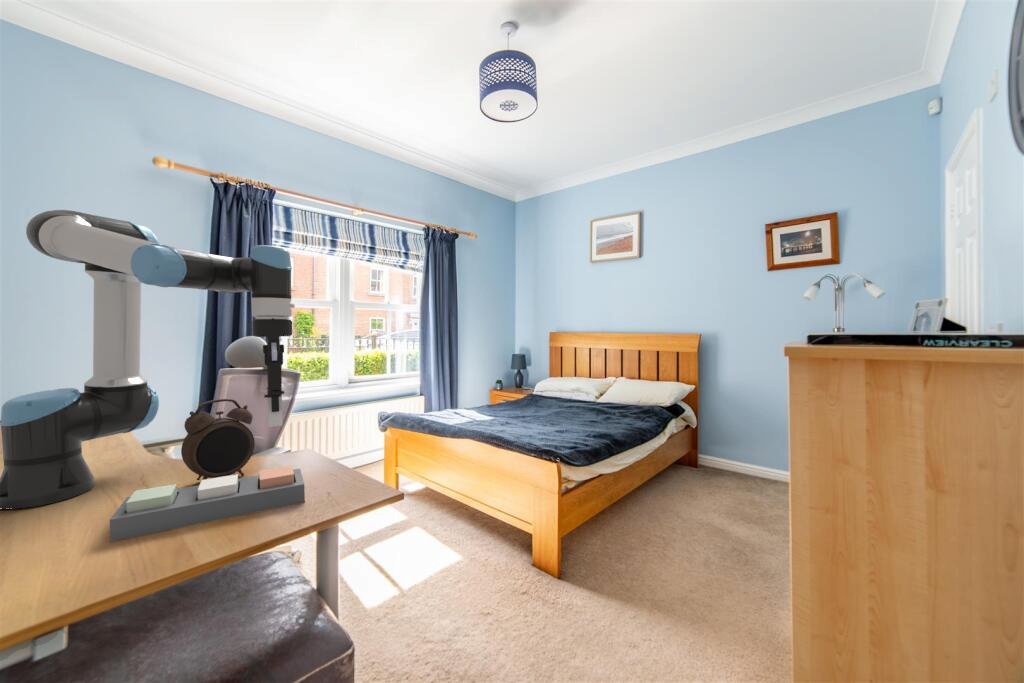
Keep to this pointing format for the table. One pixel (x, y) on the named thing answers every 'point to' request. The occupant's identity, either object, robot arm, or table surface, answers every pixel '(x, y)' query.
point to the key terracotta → (276, 477)
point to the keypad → (205, 507)
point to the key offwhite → (218, 487)
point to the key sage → (152, 498)
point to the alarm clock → (217, 442)
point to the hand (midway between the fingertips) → (275, 425)
